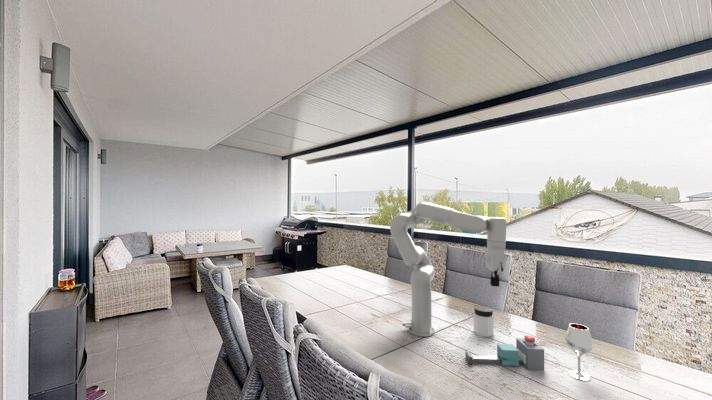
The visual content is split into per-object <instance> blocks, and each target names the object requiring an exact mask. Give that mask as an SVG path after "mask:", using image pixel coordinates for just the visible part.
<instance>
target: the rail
mask: <svg viewBox="0 0 712 400" xmlns="http://www.w3.org/2000/svg"><path fill="white" fill-rule="evenodd" d="M464 352H465V353H464V354H465V360H466V362H467V364H468V365H469V366H473V365H495V366H496V365H498V366H499V365H500V366H501V365H502V359H501V358H500V357H499V356H497V355H476V354H475V355H474V354H471V352H470V351H469V350H465V351H464ZM502 366H503V365H502ZM519 366H524V362H523V360H522V359H521V358H520V357H519Z"/></svg>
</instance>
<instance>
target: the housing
mask: <svg viewBox="0 0 712 400" xmlns="http://www.w3.org/2000/svg"><path fill="white" fill-rule="evenodd" d="M515 340H516V342H515V343H516V344H515V345H516V346H515V348H516V349H517V350H518V351H519V357H520V358H521V359H522V360H523V362H524V365H523V367H525V369H526V370H527V371H540V372H542V371H543V372H544V371H545V349H544V347H542V346H541V345H539V343H538V342H536V341H535V342H534V346H527V345H526V340H525V339H524V338H523V337H522V338H520V337H516V339H515Z"/></svg>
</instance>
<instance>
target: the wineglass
mask: <svg viewBox="0 0 712 400" xmlns="http://www.w3.org/2000/svg"><path fill="white" fill-rule="evenodd" d="M564 341H565V343H566V345H567V346H568V347H569V349H571V350H572V352H574V354H576V356H577V370H574V369H573V370H572V369H571V370H569V371H568V375H569V376H571V378H573V379H576V380H579V381H582V382H583V381H584V382H588V381H590V380H591V377H590V375H588V374H587V373H585V372H583V371H581V358H582V356H583V355H586V354H588V353H590V352H591V351H592V349H593V348H594V342H593V339H592V334H591V332H590V329H589V327H588V326H586V325H583V324H580V323H569V324H568V327H567V330H566V333H565V340H564Z"/></svg>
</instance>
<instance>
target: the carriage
mask: <svg viewBox="0 0 712 400" xmlns="http://www.w3.org/2000/svg"><path fill="white" fill-rule="evenodd" d="M496 347H497V348H496V351H497V352H496V356H499V357H500V358H501V359H502V366H515V367H516V366H520V365H519V351H518V350H517V349H516V346H515V345H514V344H507V343H497V344H496Z"/></svg>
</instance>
